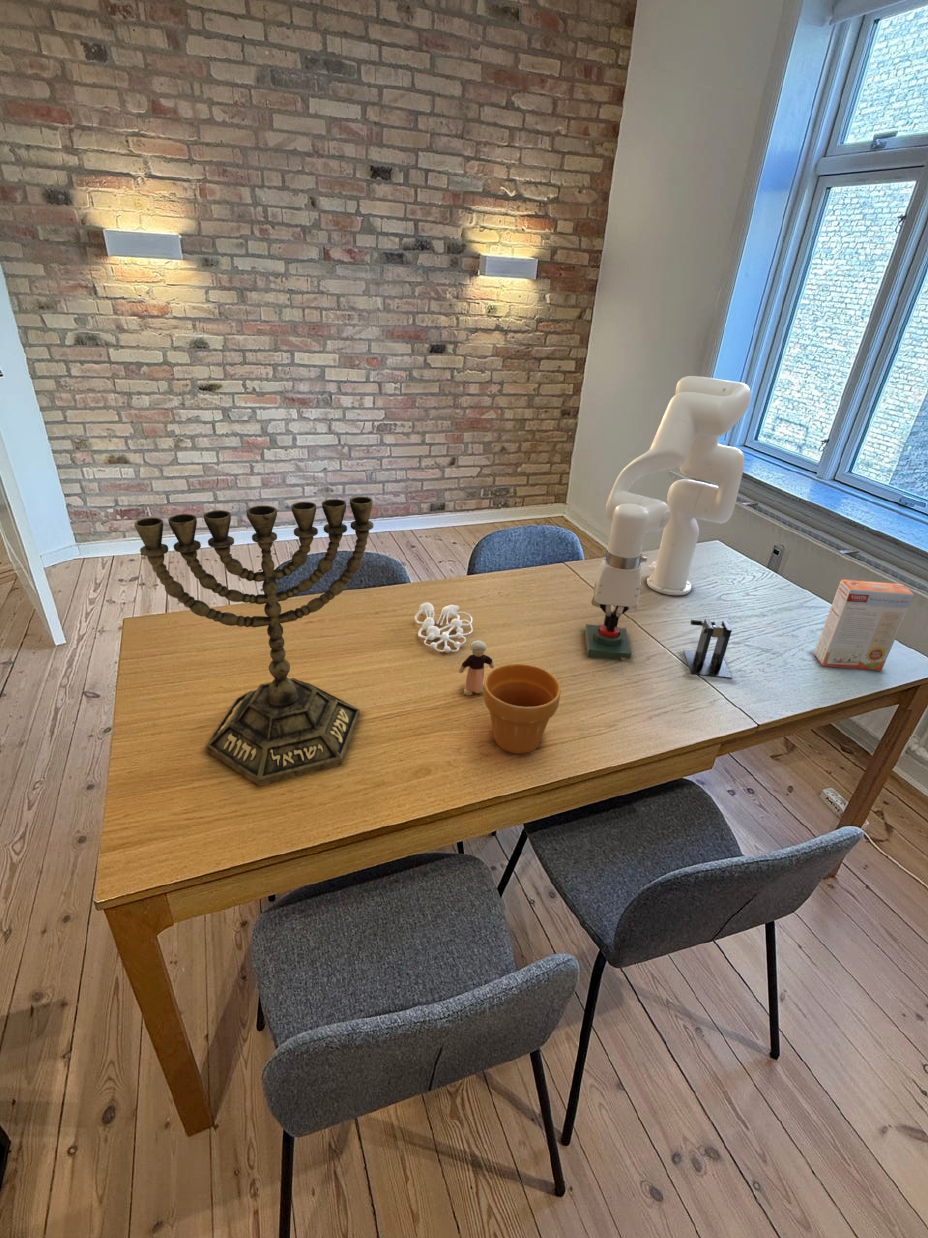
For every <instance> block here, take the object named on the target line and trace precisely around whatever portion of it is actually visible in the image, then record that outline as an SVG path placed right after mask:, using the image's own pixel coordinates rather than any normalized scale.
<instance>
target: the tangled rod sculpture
mask: <svg viewBox="0 0 928 1238" xmlns="http://www.w3.org/2000/svg"><path fill="white" fill-rule="evenodd" d="M459 610H460V606H459V605H457V604H449V605H447V606H444V607H443V608H442V609H441V612H440V615H439V617H438V619H437V621H436V622H435V615H436V612H435V607H434V606H433V604H432V603H430V602H423V603H421V604H420V605H419V608H418V611H417V612H416V613H415V614H414V622H415V624H417V625H418V626H421V627H420V629H418V632H417V636H418V638H420V639H422V640H423V645H425V646H426V647H429V648H430V649H431V650H435V651H437V652H439V653H445V654H449V653H451V652H453V653H456V652H458V651H459V650H460V648H461V646H462V645H464V644H465V643H466V642H467V637H465V636H469V635H471V634H472V633H473V632H474V628H473V625H472V624H473V620H474V619H473V616H472V615H471V614H470V613H468V612H467V611H466V612H465V611H459ZM461 614H462V615H466V616H468V618H469V619H470V621H469V620H468V619H461V616H460V615H461ZM420 615H421V617H423V618H425V619H424V621H419V620H418V617H419V616H420ZM453 616H454V617H456V618H453ZM441 618H442V619H441ZM452 618H453V619H452ZM450 619H452V620H451V621H450V622H449V620H450ZM444 620H445V621H446V623H445V626H443V623H444ZM463 622H466V623H463ZM436 625H437V626H436ZM438 625H439V626H440V628H439V627H438ZM468 626H469V627H470V631H469V632H467V633H464V629H463V628H462V627H468ZM448 628H449V629H448ZM446 629H448V630H446ZM443 630H445V631H443ZM452 630H453V631H455V632H456V633H455V634H450V633H451V632H452ZM441 631H443V632H442V633H441ZM422 632H425V633H426V636H425V635H423V634H422ZM452 638H453V639H454V638H456V639H457V640H461V639H463V641H461V642H460V641H454V640H453V639H452ZM437 639H439V640H438V641H436V642H435V641H434V640H437ZM428 640H429V641H432V642H430V644H428V643H427V641H428ZM448 642H449V643H451V644H453V648H454V649H451V647H450V646H448ZM441 643H444V646H443V648H442V649H439V648H438V645H439V644H441Z"/></svg>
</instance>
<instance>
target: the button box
mask: <svg viewBox="0 0 928 1238" xmlns="http://www.w3.org/2000/svg"><path fill="white" fill-rule="evenodd" d="M603 624H604V623H601V624H585V626H584V627H585V628H584V638H585V647H586V657H587V658H593V659H603V660H611V661H612V660H613V661H622V658H624V659H631V657H632V650H631V649H632V648H631V644H630V641H629V636H628V632H627V627H619V626H617V627H618V628H619V635H618V637H615V638H609V637H605V636H602V635H601V634H600V633H599V631H600V626H601V625H603Z"/></svg>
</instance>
